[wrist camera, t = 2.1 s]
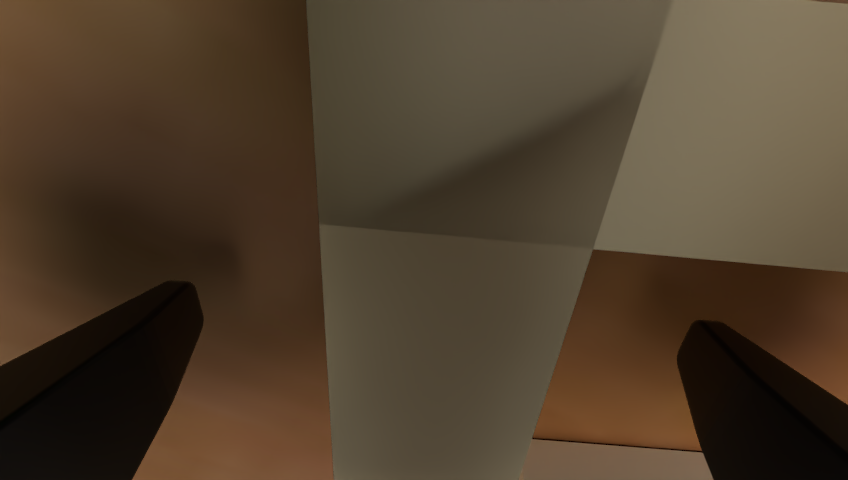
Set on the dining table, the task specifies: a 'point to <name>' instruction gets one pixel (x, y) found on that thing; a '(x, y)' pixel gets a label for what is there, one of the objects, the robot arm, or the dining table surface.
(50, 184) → the dining table surface
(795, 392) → the robot arm
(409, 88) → the hook
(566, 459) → the white l-shaped bracket
